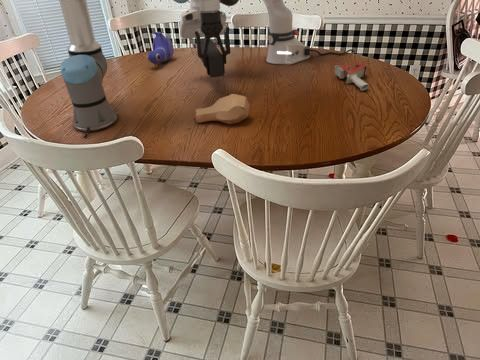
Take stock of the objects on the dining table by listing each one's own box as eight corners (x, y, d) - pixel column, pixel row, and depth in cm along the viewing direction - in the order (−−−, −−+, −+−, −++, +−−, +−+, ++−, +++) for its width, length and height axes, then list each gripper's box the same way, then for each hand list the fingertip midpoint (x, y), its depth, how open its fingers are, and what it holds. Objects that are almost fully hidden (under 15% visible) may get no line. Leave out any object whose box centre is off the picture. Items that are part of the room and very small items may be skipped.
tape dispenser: (364, 96, 143) (378, 76, 155) (367, 83, 139) (381, 65, 152) (323, 87, 150) (339, 69, 163) (324, 75, 147) (341, 57, 159)
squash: (253, 125, 125) (249, 104, 119) (198, 134, 127) (191, 114, 121) (250, 107, 133) (246, 86, 126) (198, 116, 134) (192, 96, 128)
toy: (162, 64, 198) (141, 70, 176) (157, 31, 191) (135, 33, 169) (178, 63, 196) (160, 69, 173) (174, 30, 189) (154, 32, 167)
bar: (224, 75, 142) (222, 54, 137) (210, 77, 141) (208, 56, 136) (211, 56, 164) (209, 37, 159) (199, 57, 163) (197, 38, 158)
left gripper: (232, 6, 135) (235, 67, 149) (183, 11, 132) (192, 73, 145) (236, 10, 129) (240, 73, 143) (186, 15, 126) (194, 79, 139)
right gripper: (224, 9, 154) (226, 42, 162) (177, 14, 150) (181, 47, 158) (227, 12, 149) (229, 46, 157) (178, 16, 145) (183, 51, 153)
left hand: (215, 72), depth 144 cm, fingers closed on bar, 5 cm apart
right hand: (205, 46), depth 158 cm, fingers open, 8 cm apart
